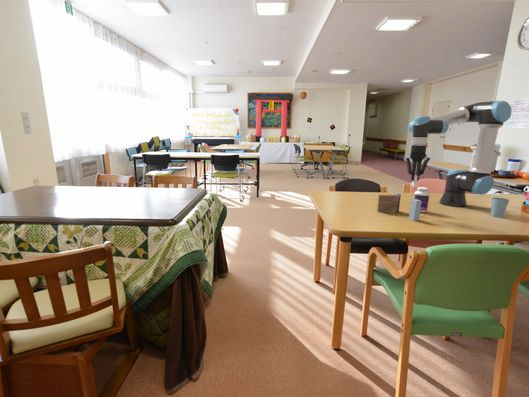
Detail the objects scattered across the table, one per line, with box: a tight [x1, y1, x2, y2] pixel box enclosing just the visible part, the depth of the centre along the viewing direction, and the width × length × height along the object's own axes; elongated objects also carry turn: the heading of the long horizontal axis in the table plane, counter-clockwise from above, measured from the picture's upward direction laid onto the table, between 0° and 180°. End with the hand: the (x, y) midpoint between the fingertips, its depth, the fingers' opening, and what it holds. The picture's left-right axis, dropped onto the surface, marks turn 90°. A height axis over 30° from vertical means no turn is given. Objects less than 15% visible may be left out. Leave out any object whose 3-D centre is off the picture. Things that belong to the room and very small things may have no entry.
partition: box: [393, 192, 422, 222], centre depth 166 cm, size 3×20×11 cm, turn 10°
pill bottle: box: [413, 186, 430, 214], centre depth 175 cm, size 8×8×14 cm
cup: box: [490, 196, 510, 219], centre depth 168 cm, size 8×8×10 cm
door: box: [376, 194, 402, 213], centre depth 173 cm, size 2×12×10 cm, turn 87°
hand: (414, 186), depth 168 cm, fingers closed
